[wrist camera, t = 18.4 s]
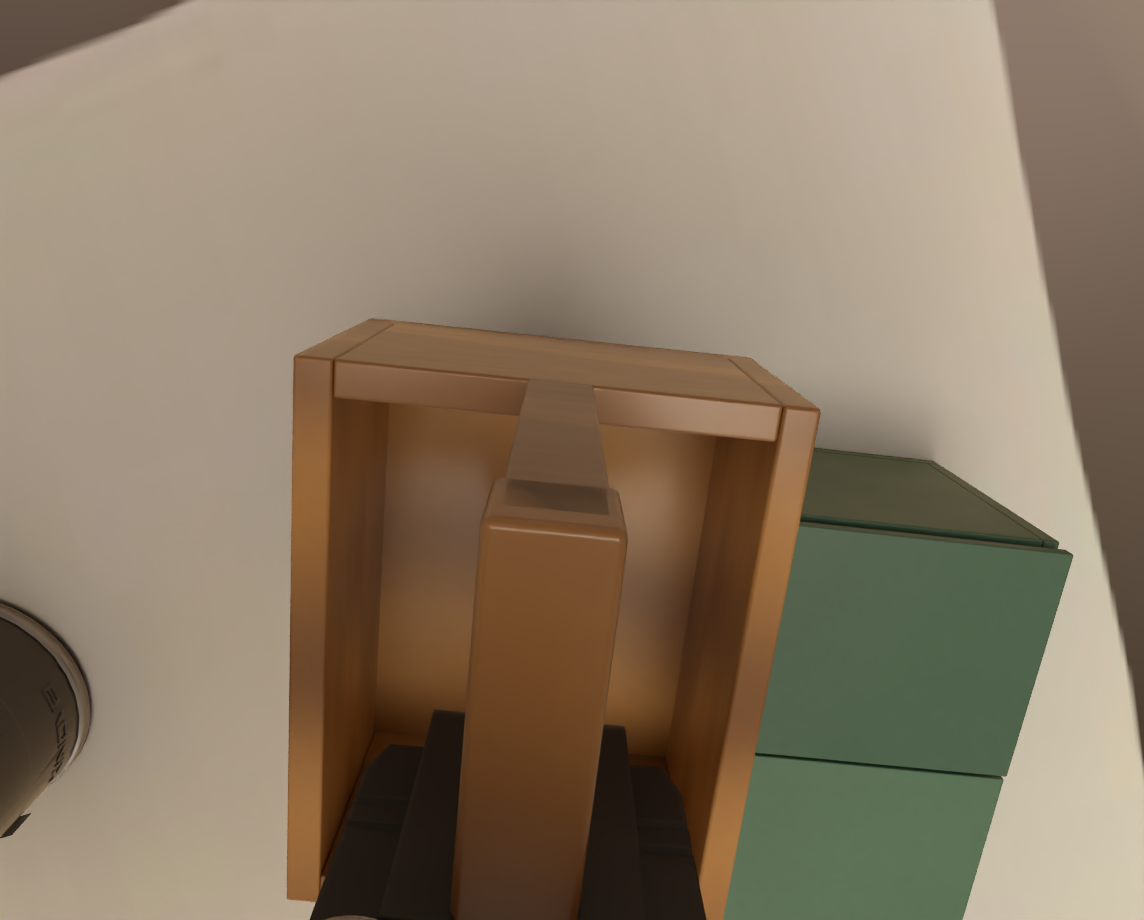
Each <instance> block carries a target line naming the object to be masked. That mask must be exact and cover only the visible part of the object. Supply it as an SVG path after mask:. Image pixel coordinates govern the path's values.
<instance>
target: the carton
mask: <svg viewBox="0 0 1144 920" xmlns="http://www.w3.org/2000/svg"><path fill="white" fill-rule="evenodd" d="M1058 545H1059V542H1058V541H1057V540H1055V539H1053V538H1052V537H1050V536H1049V535H1047V534H1046V533H1044V532H1043V531H1041V530H1039V529H1038V528H1036V527H1035V526H1033V525H1032V524H1030V523H1029V522H1027V521H1026V520H1024V519H1022V518H1021V517H1019V516H1018V515H1016V514H1015V513H1013V512H1012V511H1010V510H1008V509H1007V508H1005V507H1004V506H1002V505H1001V504H999V503H998V502H996V501H995V500H993V499H991V498H990V497H988V496H987V495H985V494H984V493H982V492H981V491H979V490H977V489H976V488H974V487H973V486H971V485H970V484H968V483H967V482H965V481H964V480H962V479H960V478H959V477H957V476H956V475H954V474H953V473H951V472H950V471H948V470H946V469H945V468H943V467H942V466H940V465H939V464H937V463H936V462H934V461H926V460H917V459H908V458H899V457H890V456H881V455H872V454H863V453H854V452H845V451H836V450H827V449H818V448H814V450H813V455H812V460H811V466H810V471H809V476H808V481H807V486H806V492H805V497H804V502H803V507H802V512H801V518H800V523H799V528H798V533H797V538H796V544H795V549H794V554H793V559H792V564H791V570H790V575H789V580H788V585H787V590H786V596H785V601H784V606H783V611H782V616H781V622H780V627H779V632H778V637H777V642H776V648H775V653H774V658H773V663H772V668H771V674H770V679H769V684H768V689H767V694H766V700H765V705H764V710H763V715H762V720H761V726H760V731H759V736H758V741H757V746H756V753H766V754H777V755H787V756H797V757H808V758H818V759H829V760H839V761H850V762H860V763H870V764H881V765H891V766H902V767H912V768H923V769H933V770H944V771H954V772H964V773H975V774H985V775H996V776H1007V773H1008V769H1009V766H1010V763H1011V760H1012V756H1013V753H1014V750H1015V746H1016V743H1017V740H1018V736H1019V733H1020V730H1021V727H1022V723H1023V720H1024V717H1025V713H1026V710H1027V707H1028V704H1029V700H1030V697H1031V694H1032V690H1033V687H1034V684H1035V680H1036V677H1037V674H1038V671H1039V667H1040V664H1041V661H1042V657H1043V654H1044V651H1045V647H1046V644H1047V641H1048V638H1049V634H1050V631H1051V628H1052V624H1053V621H1054V618H1055V615H1056V611H1057V608H1058V605H1059V601H1060V598H1061V595H1062V591H1063V588H1064V585H1065V582H1066V578H1067V575H1068V572H1069V568H1070V565H1071V562H1072V558H1073V554H1071V553H1069V552H1068V551H1066V550H1061V549H1058Z"/></svg>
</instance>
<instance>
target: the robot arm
mask: <svg viewBox="0 0 1144 920" xmlns="http://www.w3.org/2000/svg"><path fill="white" fill-rule="evenodd" d="M89 723H90V703H89V697H88V692H87V688H86V685H85V682H84V679H83V677H82V675H81V672H80V670H79V668H78V667H77V665H76V663H75V661H74V660H73V658H72V657H71V655H70V654H69V653H68V651H67V650H66V649H65V648H64V646H63V645H62V644H61V643H60V642H59V641H58V640H57V639H56V638H55V637H54V636H53V635H52V634H51V633H50V632H49V631H48V630H47V629H45V628H44V627H43V626H42V625H40V624H39V623H37V622H36V621H35V620H33V619H32V618H30V617H28V616H27V615H25V614H23V613H22V612H20V611H18V610H16V609H14V608H11V607H9V606H7V605H4V604H2V603H0V838H3V837H7V836H10V835H12V834H13V833H14V832H15V831H16V830H17V829H18V828H19V826H20V825H21V824H22V823H23V822H24V821H25V820H26V819H27V817H28V816H29V815H30V814H31V813H30V814H27V815H23V816H21V814H22V813H23V812H24V811H25V810H26V809H27V808H28V807H29V806H30V805H31V804H32V802H33V801H34V800H35V799H36V798H37V797H38V796H39V795H40V794H41V793H42V792H43V791H44V789H45V788H46V787H47V786H49V785H50V784H52V783H53V782H54V781H55V780H56V779H57V778H58V777H60V775H61V774H62V773H63V772H64V771H65V770H66V769H67V768H68V767H69V766H70V764H71V763H72V762H73V761H74V760H75V758H76V757H77V756H78V754H79V753H80V751H81V749H82V747H83V745H84V742H85V740H86V737H87V733H88V729H89ZM464 723H465V712H461V711H449V710H438V709H435V710H434V712H433V715H432V719H431V723H430V726H429V730H428V734H427V737H426V741H425V745H424V747H420V746H408V745H397V744H390V745H389V746H388V747H387V748H386V749H384V750H383V751H382V752H381V753H380V754H379V755H378V756H377V757H376V758H375V759H374V760H373V761H372V762H371V763H370V764H369V765H368V766H366V768H365V770H364V773H363V776H362V779H361V781H360V784H359V787H358V789H357V792H356V795H355V800H354V802H353V803H352V806H351V809H350V811H349V814H348V817H347V819H346V825H345V827H344V828H343V830H342V833H341V836H340V839H339V841H338V844H337V847H336V849H335V852H334V855H333V858H332V860H331V863H330V866H329V869H328V871H327V874H326V877H325V879H324V882H323V885H322V888H321V890H320V893H319V896H318V899H317V901H316V904H315V907H314V909H313V912H312V915H311V918H310V920H453V918H454V917H453V916H452V915H451V912H450V899H451V887H452V874H453V861H454V849H455V836H456V824H457V811H458V799H459V786H460V773H461V761H462V748H463V736H464ZM578 920H706V915H705V910H704V905H703V900H702V895H701V890H700V885H699V880H698V875H697V870H696V865H695V860H694V856H692V845H691V840H690V835H689V830H687V820H686V815H685V810H684V805H683V800H682V795H681V793H680V792H679V790H678V789H677V788H676V787H675V785H674V784H673V783H672V781H671V780H670V779H669V777H668V776H667V775H666V773H665V772H664V771H663V769H662V768H661V767H651V766H640V765H630V763H629V755H628V746H627V738H626V730H625V727H624V726H619V725H608V724H604V726H603V734H602V742H601V749H600V757H599V764H598V772H597V779H596V787H595V794H594V802H593V809H592V817H591V825H590V832H589V840H588V847H587V855H586V862H585V870H584V877H583V885H582V892H581V900H580V908H579V915H578Z"/></svg>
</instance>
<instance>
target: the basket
mask: <svg viewBox="0 0 1144 920" xmlns="http://www.w3.org/2000/svg"><path fill="white" fill-rule="evenodd" d="M819 419H820V409H819V408H817V407H816V406H814V405H813V404H812V403H810V402H809V401H808V400H806V399H805V398H804V397H802V396H801V395H800V394H798V393H797V392H795V391H794V390H793V389H791V388H790V387H789V386H787V385H786V384H785V383H783V382H782V381H781V380H779V379H778V378H777V377H775V376H774V375H772V374H771V373H770V372H768V371H767V370H766V369H764V368H763V367H762V366H760V365H759V364H758V363H757V362H755V361H754V360H753V359H751V358H747V357H738V356H728V355H719V354H709V353H699V352H690V351H680V350H671V349H661V348H652V347H642V346H633V345H623V344H613V343H604V342H594V341H585V340H575V339H566V338H556V337H546V336H537V335H527V334H518V333H508V332H499V331H489V330H479V329H470V328H460V327H451V326H441V325H432V324H422V323H413V322H403V321H393V320H384V319H374V318H371V319H368V320H366V321H364V322H362V323H360V324H358V325H356V326H354V327H352V328H350V329H348V330H346V331H344V332H342V333H340V334H338V335H336V336H334V337H332V338H329V339H327V340H325V341H323V342H321V343H319V344H317V345H315V346H313V347H311V348H309V349H307V350H305V351H303V352H301V353H299V354H297V355H295V356H294V371H293V449H292V527H291V605H290V683H289V760H288V838H287V899H288V900H298V901H310V902H316V901H317V899H318V896H319V893H320V890H321V888H322V885H323V882H324V879H325V877H326V874H327V871H328V869H329V866H330V863H331V860H332V858H333V855H334V852H335V849H336V847H337V844H338V841H339V839H340V836H341V833H342V830H343V828H344V827H345V825H346V819H347V817H348V814H349V811H350V809H351V806H352V803H353V802H354V800H355V795H356V792H357V789H358V787H359V784H360V781H361V779H362V776H363V773H364V770H365V768H366V766H368V765H369V764H370V763H371V762H372V761H373V760H374V759H375V758H376V757H377V756H378V755H379V754H380V753H381V752H382V751H383V750H384V749H386V748H387V747H388V746H389V745H390V744H397V745H408V746H420V747H424V745H425V741H426V737H427V734H428V730H429V726H430V723H431V719H432V715H433V712H434V710H435V709H438V710H449V711H461V712H465V723H464V736H463V748H462V761H461V773H460V786H459V799H458V811H457V824H456V836H455V849H454V861H453V874H452V887H451V899H450V912H451V915H452V916H453V917H454V918H453V920H578V915H579V908H580V900H581V892H582V885H583V877H584V870H585V862H586V855H587V847H588V840H589V832H590V825H591V817H592V809H593V802H594V794H595V787H596V779H597V772H598V764H599V757H600V749H601V742H602V734H603V726H604V724H608V725H619V726H624V727H625V730H626V738H627V746H628V755H629V763H630V765H640V766H651V767H661V768H662V769H663V771H664V772H665V773H666V775H667V776H668V777H669V779H670V780H671V781H672V783H673V784H674V785H675V787H676V788H677V789H678V790H679V792H680V793H681V795H682V800H683V805H684V810H685V815H686V820H687V830H689V835H690V840H691V845H692V856H694V860H695V865H696V870H697V875H698V880H699V885H700V890H701V895H702V900H703V905H704V910H705V915H706V920H723V918H724V913H725V908H726V903H727V897H728V892H729V887H730V882H731V877H732V871H733V866H734V861H735V856H736V850H737V845H738V840H739V835H740V830H741V824H742V819H743V814H744V809H745V804H746V798H747V793H748V788H749V783H750V778H751V772H752V767H753V762H754V757H755V752H756V746H757V741H758V736H759V731H760V726H761V720H762V715H763V710H764V705H765V700H766V694H767V689H768V684H769V679H770V674H771V668H772V663H773V658H774V653H775V648H776V642H777V637H778V632H779V627H780V622H781V616H782V611H783V606H784V601H785V596H786V590H787V585H788V580H789V575H790V570H791V564H792V559H793V554H794V549H795V544H796V538H797V533H798V528H799V523H800V518H801V512H802V507H803V502H804V497H805V492H806V486H807V481H808V476H809V471H810V466H811V460H812V455H813V450H814V445H815V440H816V434H817V429H818V424H819Z"/></svg>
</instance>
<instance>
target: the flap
mask: <svg viewBox="0 0 1144 920" xmlns="http://www.w3.org/2000/svg"><path fill="white" fill-rule="evenodd" d="M1002 783H1003V778H1002V777H1001V776H996V775H985V774H975V773H964V772H954V771H944V770H933V769H923V768H912V767H902V766H891V765H881V764H870V763H860V762H850V761H839V760H829V759H818V758H808V757H797V756H787V755H777V754H766V753H756V752H755V757H754V762H753V767H752V772H751V778H750V783H749V788H748V793H747V798H746V804H745V809H744V814H743V819H742V824H741V830H740V835H739V840H738V845H737V850H736V856H735V861H734V866H733V871H732V877H731V882H730V887H729V892H728V897H727V903H726V908H725V913H724V918H723V920H962V919H963V916H964V913H965V909H966V906H967V902H968V899H969V896H970V892H971V889H972V885H973V882H974V879H975V875H976V872H977V868H978V865H979V862H980V858H981V855H982V851H983V848H984V845H985V841H986V838H987V834H988V831H989V827H990V824H991V821H992V817H993V814H994V810H995V807H996V804H997V800H998V797H999V793H1000V790H1001V787H1002Z"/></svg>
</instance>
